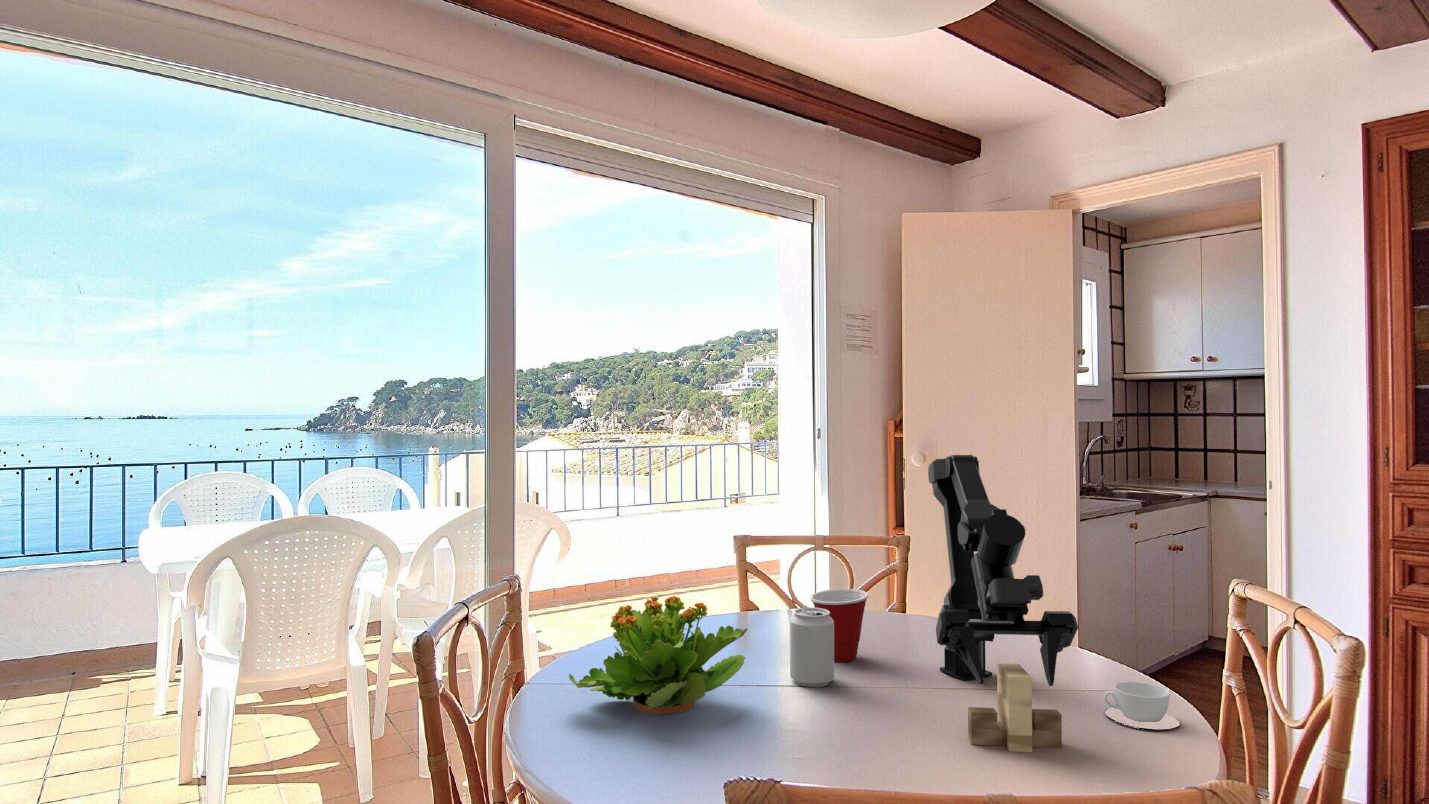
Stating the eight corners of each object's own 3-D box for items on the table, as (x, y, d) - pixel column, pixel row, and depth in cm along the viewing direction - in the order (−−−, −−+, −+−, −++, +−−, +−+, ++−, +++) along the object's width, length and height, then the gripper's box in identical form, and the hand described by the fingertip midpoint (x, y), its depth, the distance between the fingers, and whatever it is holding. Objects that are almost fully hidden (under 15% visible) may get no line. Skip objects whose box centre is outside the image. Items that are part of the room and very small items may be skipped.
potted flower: (645, 671, 146) (645, 572, 146) (769, 691, 136) (769, 584, 136) (559, 718, 124) (559, 601, 124) (700, 746, 113) (700, 618, 113)
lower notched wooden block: (971, 744, 113) (971, 712, 113) (968, 738, 115) (968, 707, 115) (1061, 747, 112) (1061, 714, 112) (1057, 741, 114) (1056, 709, 114)
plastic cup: (804, 650, 159) (804, 587, 159) (860, 648, 160) (859, 586, 160) (816, 667, 148) (816, 600, 148) (875, 665, 149) (875, 599, 149)
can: (832, 689, 136) (832, 616, 136) (787, 687, 138) (787, 614, 138) (835, 675, 143) (835, 606, 144) (792, 673, 145) (792, 604, 145)
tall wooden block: (997, 734, 117) (997, 663, 117) (1019, 735, 117) (1018, 663, 117) (1009, 751, 111) (1008, 676, 111) (1032, 752, 111) (1031, 677, 111)
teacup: (1172, 712, 126) (1171, 681, 126) (1187, 737, 116) (1186, 703, 116) (1100, 705, 129) (1099, 675, 129) (1109, 729, 119) (1108, 696, 119)
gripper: (938, 553, 119) (954, 652, 108) (1073, 554, 117) (1103, 655, 106) (929, 596, 127) (943, 692, 115) (1055, 598, 125) (1082, 696, 114)
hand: (1016, 683), depth 112 cm, fingers open, 9 cm apart
